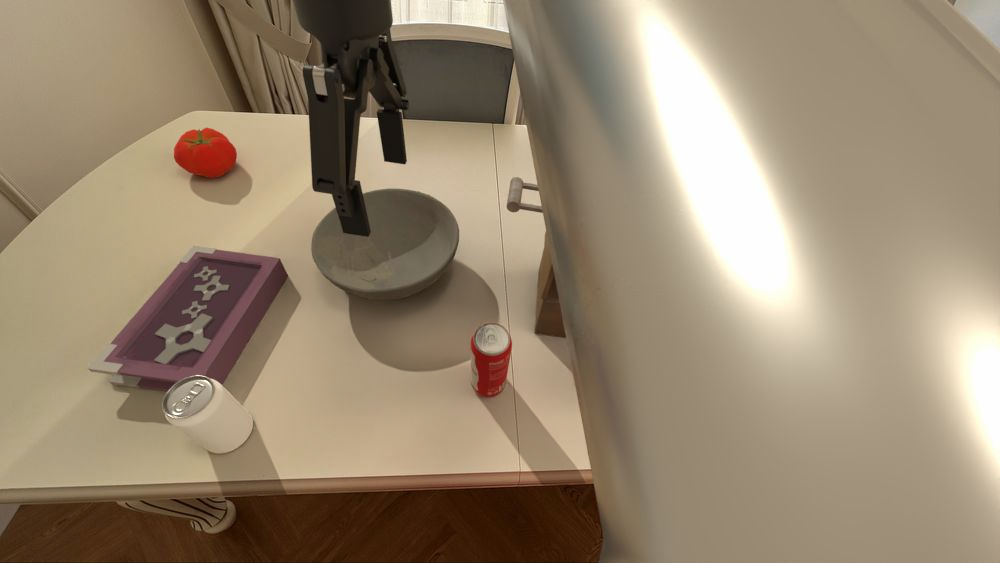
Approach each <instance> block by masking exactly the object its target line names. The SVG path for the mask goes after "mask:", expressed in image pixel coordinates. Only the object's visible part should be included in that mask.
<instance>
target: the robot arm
mask: <svg viewBox="0 0 1000 563" xmlns="http://www.w3.org/2000/svg"><path fill="white" fill-rule="evenodd" d="M292 2H293V7H294V10H295V14H296V19H297V22H298V24H299V25H300V27H301V28H302V29H303V30H304V31H305V32H306V33H308V34H310V35H311V36H313V37H314V39H316V40H317V41H318V42H319V45H320V52H321V53H320V55H321V64H320V65H311V64H304V65H303V66H302V77H303V82H304V86H305V92H306V95H307V105H308V106H307V108H308V126H309V128H308V129H309V146H310V148H309V151H310V168H311V185H312V186H311V187H312V190H313V192H315V193H320V194H327V195H331V196H332V200H333V203H334V208H335V207H336V211H337V213H338V216H339V220H340V223H341V227H342V230H343V233H346V234H353V235H359V236H366V237H369V235H370V233H371V230H370V225H369V221H368V216H367V211H366V207H365V202H364V198H363V193H364V192H363V190H362V185H361V180H358V179H357V180H356V172H357V158H358V150H359V149H358V148H359V147H358V146H359V138H360V137H359V136H360V124H361V115H362V114H363V113H365V112H366V111H367V107H368V96H369V93H370V95H371V96H372V98H373V99H374V101H375V102H376V103H377V104H378V106H379V107H380V108H378V109H377V111H376V118H377V124H378V129H379V130H378V131H379V137H380V143H381V149H382V156H383V161H384V163H391V164H392V163H393V164H399V165H406V164H407V162H408V160H407V158H408V157H407V151H406V140H405V131H404V121H403V113H402V112H401V111H405V112H407V111H409V108H410V101H409V99H405V98H406V96H407V93H408V92H407V86H406V84H405V79H404V77H403V72H402V70H401V66H400V63H399V60H398V56H397V52H396V50H395V46H394V43H393V39H392V33H391V29H392V26H393V23H394V18H393V17H394V16H393V8H392V0H292ZM502 3H503V7H504V14H505V18H506V23H507V29H508V36H509V40H510V45H511V50H512V55H513V61H514V66H515V71H516V76H517V83H518V88H519V93H520V98H521V103H522V109H523V114H524V120H525V124H526V125H525V126H526V130H527V137H528V141H529V147H530V151H531V157H532V162H533V168H534V173H535V179H536V185H538V190H539V191H538V195H539V200H540V206H542V211H543V213H542V217H543V221H544V226H545V227H544V228H545V232H547V238H548V243H549V248H550V254H551V259H552V264H553V270H554V275H555V280H556V286H557V291H558V296H559V302H560V307H561V312H562V318H563V323H564V328H565V333H566V338H565V339H566V343H567V348H568V354H569V359H570V365H571V370H572V376H573V381H574V387H575V392H576V397H577V401H578V402H577V403H578V408H579V412H580V418H581V424H582V429H583V434H584V439H585V446H586V451H587V456H588V461H589V467H590V471H591V477H592V482H593V487H594V488H593V489H594V493H595V498H596V503H597V508H598V514H599V520H600V526H601V530H602V535H603V541H602V546H601V551H600V555H599V559H598V563H1000V48H999V47H998V46H997V45H996V44H995V43H994V42H993V41H991V39H989V38H988V37H987V36H986V34H984V33H983V32H982V31H981V30H980V29H978V27H977V26H976V25H975V24H973V23H972V22H971V21H970V20H969V19H968V18H967V17H966V16H965V15H963V13H961V12H960V10H958V9H957V8H956V7H955V6H954V5H953V4H952V3H951V2H950V1H948V0H502ZM381 108H383V109H381Z"/></svg>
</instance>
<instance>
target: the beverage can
mask: <svg viewBox="0 0 1000 563" xmlns="http://www.w3.org/2000/svg"><path fill="white" fill-rule="evenodd" d="M512 349H513V340H512V337H511V335H510V332H509V330H508V329H507V328H506V327H504V325H502V324H500V323H497V322H487V323H484V324H481V325H480V326H478V327H477V329H476V330H475V331H474V333H473V334H472V336H471V339H470V384H471V387H472V389H473V391H474V392H475V393H476V394H477V395H479V396H480V397H482V398H483V397H484V398H494V397H497V396H498V395H500V394H501V393H502V392H503V391H504V389H505V387H506V384H507V379H508V373H509V368H510V367H509V366H510V360H511V354H512Z"/></svg>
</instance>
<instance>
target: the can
mask: <svg viewBox="0 0 1000 563" xmlns="http://www.w3.org/2000/svg"><path fill="white" fill-rule="evenodd" d="M161 410H162V412H163V414H164V417H165V419H166V420H167V422H168V423H169V424H170V425H172V426H173V427H174V428H175V429H177V430H178V431H180V432H181V433H183V434H184V435H185V436H187V437H188V438H189V439H191V440H192V441H194V442H195V443H196V444H198V445H199V446H201V447H202V448H204V449H205V450H207V451H208V452H210V453H212V454H226V453H230V452H233V451H234V450H237V449H238V448H240V447H241V446H242V445H243V444H244V443H245V442H246V441H247V440H248V439H249V437H250V435H251V434H252V432H253V429H254V419H253V416H252V415H251V414H250V413H249V411H248V410H247V409H246V408H245V407H244V406H243V405H242V404H241V402H239V401H238V400H237V399H236V398H235V397H234V396H233V395H232V393H230V391H228V390H227V389H226V387H224V386H223V384H222V385H221V384H220V383H219V382H217V381H216V380H214V379H210V378H208V377H206V376H201V375H196V376H190V377H187V378H185V379H182V380H180V381H179V382H177V383H176V384H174V385H173V386H172V387H171V388H170V389H169V390H168V391H166V393H165V394H164V396H163V398H162V401H161Z"/></svg>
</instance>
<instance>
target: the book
mask: <svg viewBox="0 0 1000 563" xmlns="http://www.w3.org/2000/svg"><path fill="white" fill-rule="evenodd" d="M288 276H289V275H288V272H287V270H286V268H285V266H284V264H283V262H282V260H281V258H280V257H274V256H267V255H259V254H253V253H245V252H236V251H230V250H223V249H217V248H215V247H209V246H208V247H207V246H201V245H192V246H191V248H190V249H189V250H188V251H187V252H186V253H185V255H183V257H182V258H181V259H180V260H179V262H178V264H177V265H176V267H175V268H174V269H173V270H172V271H170V274H168V276H167V277H166V278H165V279H164V280H163V282H162V283H161V284H160V285H159V287H158V288H156V289H155V291H154V292H153V293H152V294H151V295H150V297H149V298H148V299H147V300H146V301H145V303H143V305H142V306H141V307H140V308H139V309H138V311H137V312H136V313H134V316H132V318H131V319H130V320H129V321H128V322H127V323H126V324H125V325H124V327H123V328H122V329H121V330H120V332H119V333H118V334H117V335H116V336H115V337H114V339H113V340H112V341H111V342H110V343H108V344H107V345H105V347H104V348H103V349H102V350H101V351H100V352H99V354H98V355H97V356H96V357H95V358H94V359H93V360H92V362H90V364H89V365H88V367H86V369H87V370H89V371H90V372H91V373H98V374H105V375H112V376H111V377H110V378H109V380H108V382H109V384H111V385H116V386H122V387H128V388H129V387H130V388H136V389H137V388H138V389H141V388H142V389H147V390H153V391H161V392H167V391H168V390H169V389H170V388H171V387H172V386H173V385H174V384H176V383H177V382H179V381H180V380H182V379H185V378H187V377H190V376H196V375H201V376H206V377H208V378H210V379H214V380H216V381H217V382H219V383H220V384H221V385H222V386H223V384H224V382H225V381H226V379H227V377H228V375H229V374H230V372H231V371H232V369H233V367H234V366H235V364H236V362H237V361H238V359H239V357H240V356H241V354H242V352H243V350H244V349H245V348H246V346H247V344H248V342H249V341H250V339H251V338H252V336H253V335H254V333H255V331H256V330H257V328H258V326H259V325H260V323H261V321H262V319H263V318H264V316H265V315H266V313H267V311H268V309H269V308H270V306H271V304H272V303H273V301H274V299H275V298H276V297H277V295H278V294H279V291H280V289H281V288H282V286H283V284H284V283H285V281H286V280H287V278H288Z"/></svg>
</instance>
